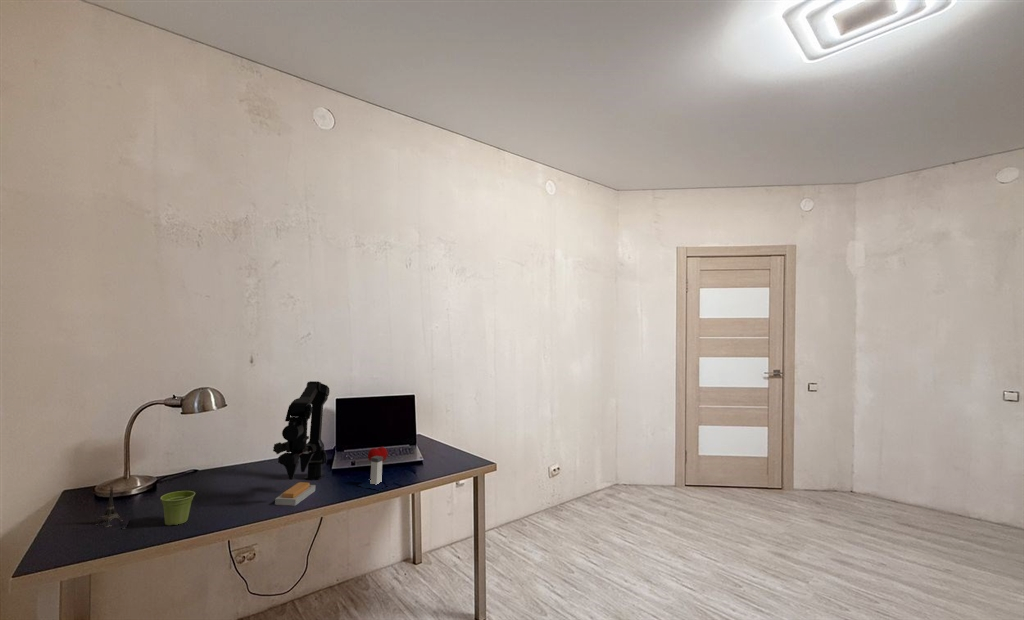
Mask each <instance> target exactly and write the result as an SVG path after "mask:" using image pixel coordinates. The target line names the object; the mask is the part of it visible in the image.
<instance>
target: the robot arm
mask: <svg viewBox="0 0 1024 620" xmlns="http://www.w3.org/2000/svg"><path fill="white" fill-rule="evenodd" d="M329 395H330V388H329V386H328V384H324V383H322V382H321V381H319V380H318V381H307V382H306V387H305V388H304V390H303V391H302V393H301V395H300V396H299V397H298V398H296V399H294V400H293V401H292V402H291V403H290V404H289V406H288V409H287V412H286V416H285V419H284V422H287V425H286V426H285V427H284V428H283V429H282V432H281V435H282V438H283V439H284V440H285V442H280V441H279V442H277V443H274V444H273V447H272V448H273V449H272V451H273V452H274V453H276V455H279V454H280V455H279V456H278V457H277V463H278V464H280V465H282V466H284V467H285V470H286V474H287V476H288V479H289V480H290V481H292V480H293V479H294V477H295V474H296V471H297V468H298V466H299V463H300V472H301V473H304V472H306V469H307V474H306V476H304V477H303V479H304V480H318V481H319V480H320V479H321V478H323V477H324V476H325V473H323V465H324V464H327V463H328V455H327V452H326V449H325V444H324V442H323V441H322V429H323V428H322V426H323V416H324V415H323V414H324V405H325V403H326V402H327V401H328V398H329ZM309 420H310V426H309V427H310V429H309V435H308V424H309V423H308V421H309ZM281 453H282V454H281ZM299 459H300V460H299Z"/></svg>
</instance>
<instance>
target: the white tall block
mask: <svg viewBox="0 0 1024 620" xmlns="http://www.w3.org/2000/svg"><path fill="white" fill-rule="evenodd" d="M382 461H383V457H382V456H374V457H371V461H370V479H371V480H370V479H369V480H370V484H375V485H377V484H379V483H380V482H382V475H383V462H384V461H383V462H382Z"/></svg>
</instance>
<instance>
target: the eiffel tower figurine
mask: <svg viewBox="0 0 1024 620" xmlns="http://www.w3.org/2000/svg"><path fill="white" fill-rule="evenodd" d="M109 488H110V491H109V496H108V501H107V502H108V503H107V506H106V510H105V512H104V513H103V514H102V516H101V517H102V518H99V520H98V521H97V523H95V525H98V526H97V527H101V526H103V528H110V527H113V526H112V525H110V522H111V520H112V519H114V518H117V519H118V520H119V521H123V520H122V519H121V518H120V516H119V515H120V514H119V513H118V512H117V511H116V509H115V506H114V490H113V489H114V486H113V485H111V486H110V487H109ZM104 520H105V521H106V525H105V526H104V525H100V523H102V522H104ZM95 525H94V526H95ZM109 526H110V527H109ZM124 529H126V528H125V527H124V528H122V529H121V530H124Z"/></svg>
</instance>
